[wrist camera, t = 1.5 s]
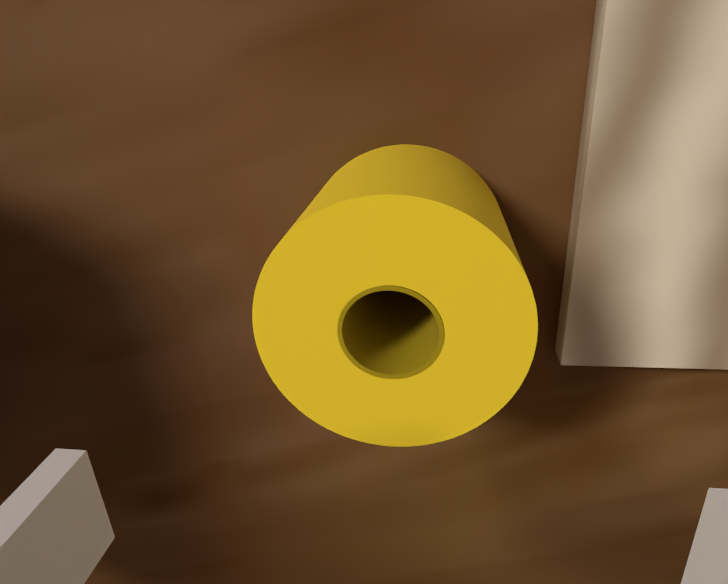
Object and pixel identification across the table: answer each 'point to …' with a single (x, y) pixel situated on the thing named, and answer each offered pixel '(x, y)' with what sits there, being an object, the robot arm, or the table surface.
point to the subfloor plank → (651, 192)
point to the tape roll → (397, 302)
